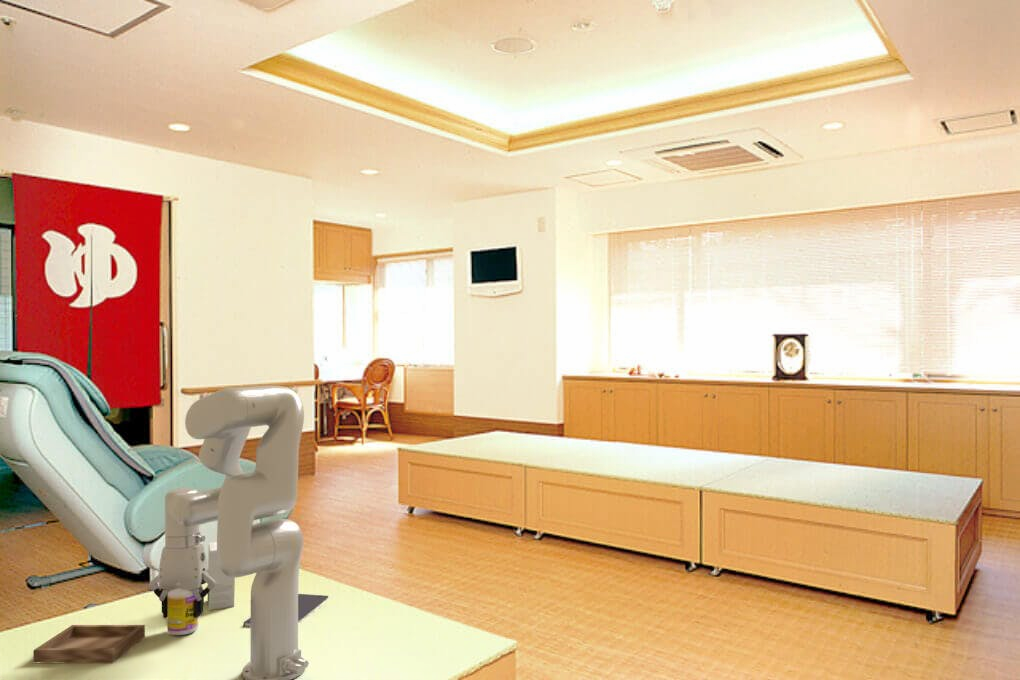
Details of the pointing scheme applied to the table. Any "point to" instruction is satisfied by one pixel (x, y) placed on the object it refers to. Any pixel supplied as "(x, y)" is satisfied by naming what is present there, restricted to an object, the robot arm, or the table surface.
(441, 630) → the table surface
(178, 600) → the supplement bottle
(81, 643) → the holder tray
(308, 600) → the notebook
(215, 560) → the skincare box
